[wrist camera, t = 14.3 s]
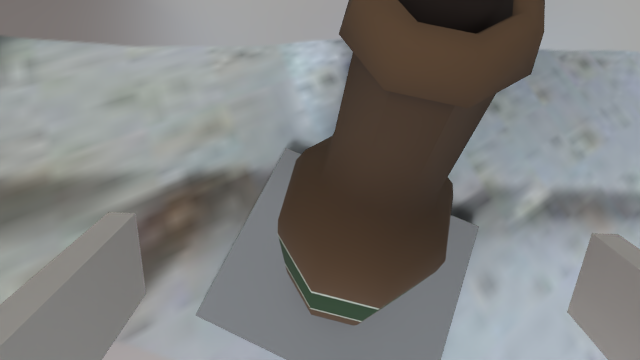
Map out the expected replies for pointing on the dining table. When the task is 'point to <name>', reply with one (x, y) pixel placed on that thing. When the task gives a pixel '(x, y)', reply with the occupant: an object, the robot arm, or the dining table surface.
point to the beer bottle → (398, 146)
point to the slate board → (316, 332)
